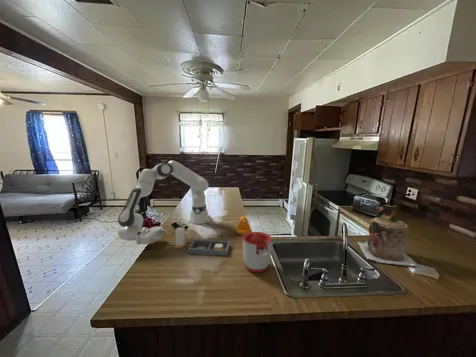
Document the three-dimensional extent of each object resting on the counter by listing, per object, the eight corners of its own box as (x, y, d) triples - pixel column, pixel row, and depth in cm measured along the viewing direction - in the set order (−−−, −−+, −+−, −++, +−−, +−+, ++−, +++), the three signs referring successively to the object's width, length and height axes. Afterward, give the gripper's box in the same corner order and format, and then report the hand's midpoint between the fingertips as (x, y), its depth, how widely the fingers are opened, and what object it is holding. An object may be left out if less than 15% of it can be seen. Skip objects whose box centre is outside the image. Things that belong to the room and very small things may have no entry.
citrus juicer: (248, 279, 105) (248, 241, 102) (238, 261, 122) (239, 228, 119) (277, 274, 109) (278, 238, 106) (264, 257, 126) (265, 225, 123)
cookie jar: (398, 248, 139) (404, 200, 134) (418, 269, 115) (427, 212, 110) (356, 243, 145) (360, 197, 140) (367, 262, 122) (373, 208, 117)
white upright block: (177, 243, 143) (177, 226, 141) (186, 244, 142) (186, 227, 141) (174, 248, 137) (173, 230, 135) (183, 248, 137) (182, 230, 135)
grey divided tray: (194, 243, 143) (194, 239, 143) (229, 245, 141) (229, 241, 140) (188, 253, 130) (187, 249, 130) (227, 255, 128) (227, 250, 128)
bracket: (237, 235, 158) (237, 219, 156) (236, 231, 165) (236, 216, 163) (251, 234, 159) (252, 219, 157) (250, 230, 166) (250, 215, 164)
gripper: (151, 232, 151) (170, 233, 150) (135, 245, 131) (156, 246, 130) (151, 223, 151) (169, 224, 149) (134, 236, 130) (156, 237, 129)
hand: (163, 235), depth 140 cm, fingers open, 8 cm apart
